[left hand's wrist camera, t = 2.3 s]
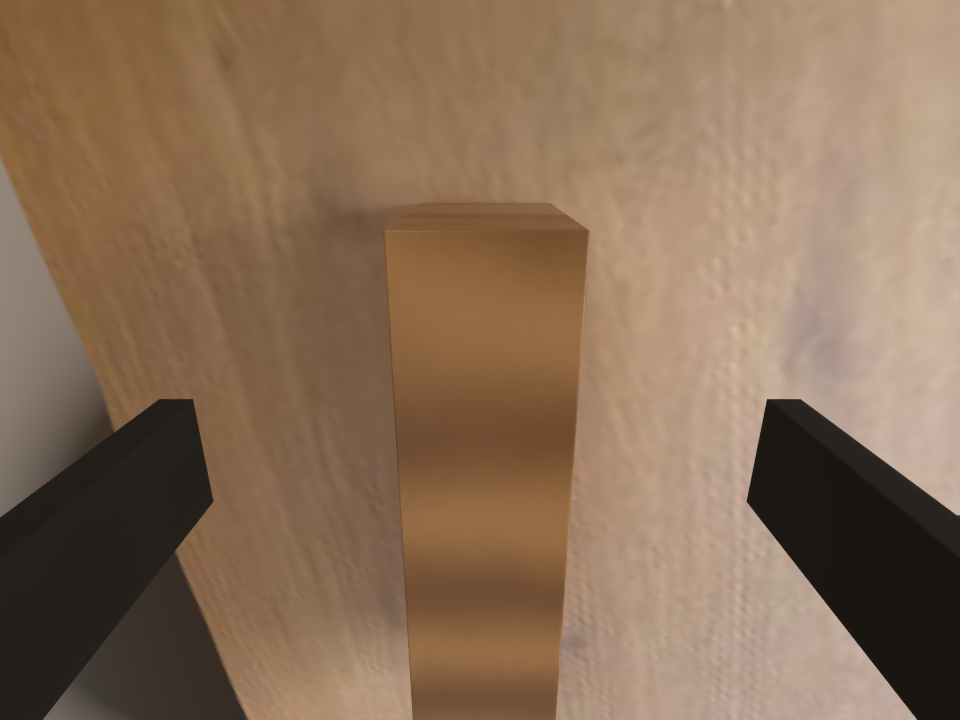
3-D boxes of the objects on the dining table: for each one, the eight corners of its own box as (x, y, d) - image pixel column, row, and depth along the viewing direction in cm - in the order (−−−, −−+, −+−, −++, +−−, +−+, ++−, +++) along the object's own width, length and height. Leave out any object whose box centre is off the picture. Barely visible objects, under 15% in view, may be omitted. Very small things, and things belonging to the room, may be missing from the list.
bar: (420, 203, 24) (383, 230, 15) (551, 203, 24) (590, 230, 15) (434, 608, 33) (416, 780, 24) (532, 609, 33) (551, 781, 24)
